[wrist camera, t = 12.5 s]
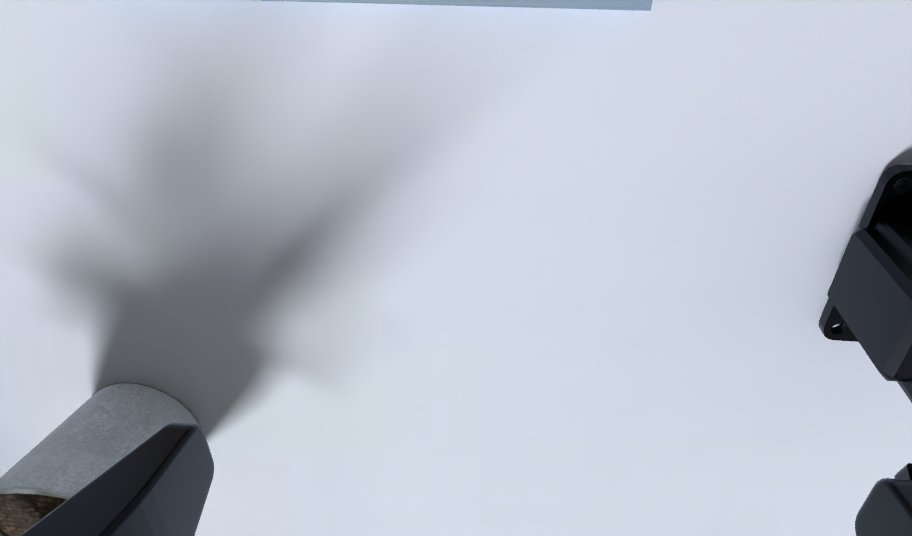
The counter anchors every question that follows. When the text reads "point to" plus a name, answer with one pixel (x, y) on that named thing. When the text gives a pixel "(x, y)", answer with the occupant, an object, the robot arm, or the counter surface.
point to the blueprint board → (515, 3)
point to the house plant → (83, 451)
